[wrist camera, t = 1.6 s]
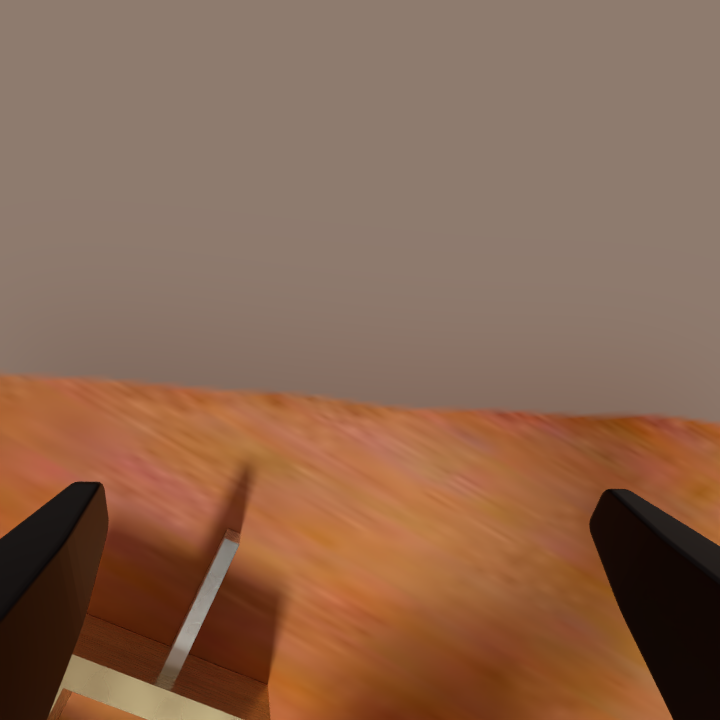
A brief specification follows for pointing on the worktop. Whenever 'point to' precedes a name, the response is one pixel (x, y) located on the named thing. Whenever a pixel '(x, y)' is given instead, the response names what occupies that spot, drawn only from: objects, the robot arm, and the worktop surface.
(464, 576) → the worktop surface
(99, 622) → the bracket
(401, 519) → the worktop surface
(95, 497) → the robot arm
